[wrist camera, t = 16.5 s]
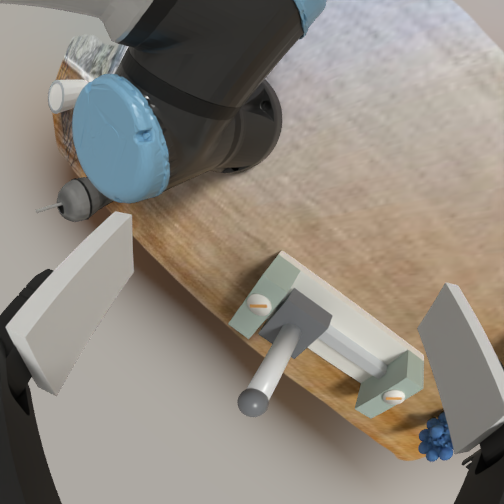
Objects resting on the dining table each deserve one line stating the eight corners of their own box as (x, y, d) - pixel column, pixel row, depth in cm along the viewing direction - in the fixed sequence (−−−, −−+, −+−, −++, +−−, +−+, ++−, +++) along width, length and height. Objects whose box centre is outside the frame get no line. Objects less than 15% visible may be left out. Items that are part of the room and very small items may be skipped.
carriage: (265, 322, 49) (208, 408, 34) (294, 287, 43) (236, 382, 29) (300, 346, 48) (254, 437, 33) (332, 315, 43) (292, 418, 28)
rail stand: (248, 297, 53) (226, 326, 47) (281, 249, 46) (260, 277, 40) (377, 387, 50) (370, 421, 44) (423, 355, 43) (422, 391, 37)
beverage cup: (117, 197, 56) (35, 238, 40) (111, 162, 53) (23, 196, 37) (142, 198, 53) (55, 243, 37) (136, 159, 50) (42, 196, 34)
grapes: (458, 391, 43) (458, 444, 33) (471, 406, 43) (472, 455, 33) (411, 414, 50) (403, 463, 40) (426, 426, 50) (420, 473, 40)
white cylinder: (70, 94, 50) (44, 99, 45) (83, 70, 46) (55, 73, 41) (83, 114, 51) (55, 120, 45) (96, 90, 47) (67, 94, 41)
